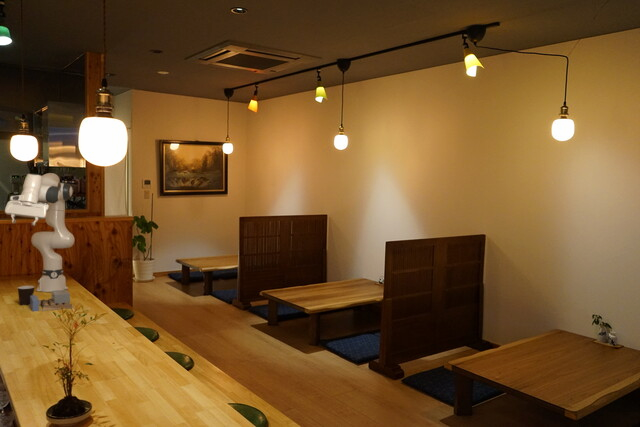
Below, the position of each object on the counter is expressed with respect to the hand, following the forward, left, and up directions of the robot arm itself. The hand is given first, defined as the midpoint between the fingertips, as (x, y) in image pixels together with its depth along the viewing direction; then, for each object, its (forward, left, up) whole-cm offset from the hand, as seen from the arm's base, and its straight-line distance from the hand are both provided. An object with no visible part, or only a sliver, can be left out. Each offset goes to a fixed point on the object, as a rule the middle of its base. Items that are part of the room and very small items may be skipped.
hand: (23, 224), depth 276 cm
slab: (-6, +20, -46) cm, 51 cm away
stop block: (-6, +6, -49) cm, 50 cm away
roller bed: (-6, +17, -49) cm, 53 cm away
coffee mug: (-20, +4, -49) cm, 53 cm away
